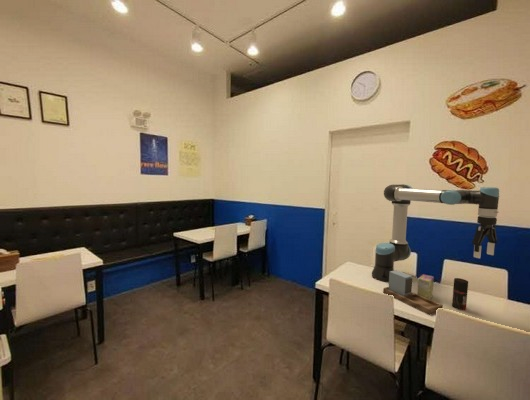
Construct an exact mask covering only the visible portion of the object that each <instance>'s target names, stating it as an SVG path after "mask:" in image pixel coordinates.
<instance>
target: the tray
mask: <svg viewBox="0 0 530 400" xmlns="http://www.w3.org/2000/svg"><path fill="white" fill-rule="evenodd" d="M388 288H389V286H388V287H384V288H382V289H383V291H382V292H383V294H385V293H386V294H385V295H387V294H389V295H393V296H394V298H393V299H395V300H397V301H399V302H402V303H404V304H405V305H407V306H410V307H412V308H414V309H416V310H418V311H420V312H423V313H425V315H428V316H431V315H434V314H436V310H437V309H438V308H443V306H444V305H443V304H440V303H439V302H437V301H434V300H432V299H430V300H429V299H427V298H425V297H422V296H420V295H418V294H417V293H415V292H413V291H412V292H411V294H410V295H407V296H401V295H399V294H397V293H395V292H392V291H390V290H388ZM389 295H388V296H389Z"/></svg>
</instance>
